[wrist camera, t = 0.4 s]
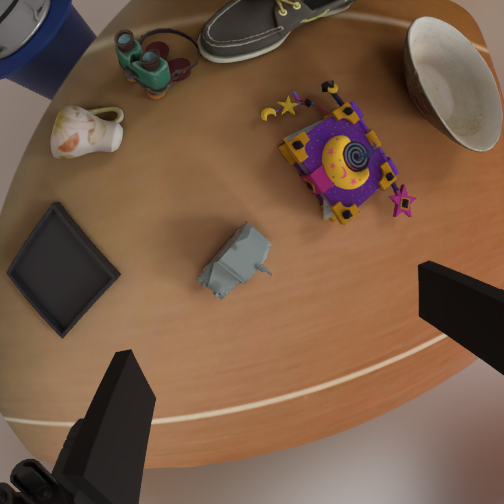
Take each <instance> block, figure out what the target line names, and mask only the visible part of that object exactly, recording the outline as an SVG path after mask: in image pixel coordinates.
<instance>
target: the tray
mask: <svg viewBox="0 0 504 504" xmlns="http://www.w3.org/2000/svg"><path fill="white" fill-rule="evenodd" d="M6 273H7V275H8V276H9V277H10V279H11V280H12V281H13V283H14V284H15V285H16V286H17V288H18V289H19V290H20V292H21V293H22V294H23V295H24V296H25V298H26V299H27V300H28V301H29V303H30V304H31V305H32V306H33V307H34V308H35V310H36V311H37V312H38V313H39V314H40V315H41V316H42V318H43V319H44V320H45V321H46V322H47V323H48V324H49V325H50V326H51V327H52V328H53V329H54V331H55V332H56V333H57V334H58V335H59V336H60V337H61V338H62V339H63V338H64V337H65V335H66V334H67V333H68V332H69V331H70V330H71V329H72V327H73V326H74V325H75V324H76V323H77V322H78V321H79V319H80V318H81V317H82V316H83V315H84V314H85V313H86V312H87V311H88V309H89V308H90V307H91V306H92V305H93V304H94V303H95V302H96V301H97V300H98V299H99V298H100V296H101V295H102V294H103V293H104V292H105V291H106V290H107V289H108V288H109V287H110V286H111V285H112V284H113V283H114V282H115V281H116V280H117V279H118V277H119V276H120V275H121V274H120V273H119V272H118V270H117V269H116V268H115V267H114V266H113V265H112V264H111V263H110V262H109V261H108V260H107V258H106V257H105V256H104V255H103V254H102V253H101V252H100V251H99V249H98V248H97V247H96V246H95V245H94V244H93V243H92V241H91V240H90V239H89V238H88V237H87V236H86V234H85V233H84V232H83V231H82V230H81V228H80V227H79V226H78V225H77V224H76V222H75V221H74V220H73V219H72V217H71V216H70V215H69V214H68V212H67V211H66V210H65V209H64V207H63V206H62V205H61V204H60V202H57V203H53V204H52V205H51V207H50V208H49V209H48V210H47V212H46V213H45V215H44V216H43V217H42V219H41V220H40V221H39V223H38V224H37V226H36V227H35V228H34V230H33V231H32V233H31V234H30V236H29V237H28V239H27V240H26V242H25V243H24V245H23V246H22V248H21V249H20V251H19V252H18V254H17V256H16V257H15V259H14V261H13V262H12V264H11V266H10V267H9V269H8V271H7V272H6Z"/></svg>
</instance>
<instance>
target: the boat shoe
mask: <svg viewBox="0 0 504 504" xmlns="http://www.w3.org/2000/svg"><path fill="white" fill-rule="evenodd" d="M354 1H356V0H231V1H230V2H228V3H227V4H226V5H224V6H223V7H222V8H221V9H220V10H218V11H217V12H216V13H215V14H214V15H213V16H212V17H211V18H210V19H209V20H208V21H207V23H206V24H205V25H204V27H203V28H202V30H201V34H200V35H199V38H198V41H197V43H198V44H199V50H200V53H201V54H202V55H203V57H205V58H206V59H208V60H210V61H212V62H217V63H228V62H236V61H241V60H246V59H249V58H253V57H256V56H259V55H262V54H264V53H267V52H269V51H271V50H273V49H275V48H277V47H278V46H279V45H280V44H282V43H283V41H284V40H285V39H286V38H287V36H288V35H289V33H290V32H291V31H292V30H293V29H295V28H297V27H299V26H301V25H303V24H305V23H307V22H309V21H312V20H314V19H317V18H319V17H325V16H330V15H334V14H337V13H341V12H343V11H345V10H347V9H348V8H349V7H350V5H351V4H352V3H353V2H354Z"/></svg>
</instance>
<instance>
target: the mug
mask: <svg viewBox="0 0 504 504" xmlns="http://www.w3.org/2000/svg"><path fill="white" fill-rule="evenodd" d="M110 111H112V112H116V113H117V115H118V116H117V118H116V119H114V120H112V121H106V120H102V119H100V118H98V117H97V116H95V115H96V114H99V113H103V112H110ZM123 118H124V113H123V111H122V110H121V109H120V108H118V107H115V106H112V107H104V108H98V109H92V110H85V109H83V108H81V107H78V106H64V107H62V108H61V109H60V111H59V113H58V115H57V117H56V119H55V122H54V126H53V130H52V135H51V141H50V149H51V152H52V155H53V156H54V157H55V158H59V159H70V158H74V157H78V156H81V155H84V154H87V153H91V152H97V151H102V152H113V151H115V150H117V149H118V148H119V146H120V144H121V141H122V136H123V129H122V127H121V126H120V124H119V123H120V122H121V121H122V120H123Z"/></svg>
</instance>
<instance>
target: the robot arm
mask: <svg viewBox="0 0 504 504" xmlns="http://www.w3.org/2000/svg"><path fill="white" fill-rule="evenodd" d="M51 6H52V1H51V0H0V60H2V59H6V58H8V57H10V56H12V55H14V54H16V53H17V52H18V51H20V50H21V49H22V48H23V47H25V46H26V45H27V44H28V43H29V42H30V41H31V40H32V39H33V38H34V36H35V35H36V34H37V33H38V32H39V30H40V29H41V28H42V26H43V25H44V23H45V21H46V19H47V18H48V15H49V13H50V10H51ZM418 279H419V317H421V318H422V319H424V320H425V321H427V322H428V323H430V324H431V325H432V326H434V327H435V328H437V329H438V330H440V331H441V332H443V333H444V334H446V335H447V336H449V337H450V338H452V339H453V340H455V341H456V342H457V343H459V344H460V345H462V346H463V347H465V348H466V349H468V350H469V351H470V352H472V353H473V354H475V355H476V356H478V357H479V358H480V359H482V360H483V361H485V362H486V363H487V364H489V365H490V366H492V367H493V368H494V369H496V370H497V371H498V372H500V373H501V374H503V375H504V290H503V289H498V288H496V287H494V286H491V285H489V284H487V283H484V282H482V281H479V280H477V279H475V278H472V277H470V276H467V275H465V274H462V273H460V272H457V271H455V270H452V269H450V268H447V267H445V266H442V265H440V264H437V263H435V262H432V261H427V262H424V263H422V264H419V265H418ZM155 401H156V397H155V395H154V393H153V391H152V390H151V388H150V386H149V384H148V382H147V380H146V378H145V376H144V374H143V372H142V370H141V368H140V366H139V364H138V362H137V360H136V358H135V356H134V354H133V352H132V350H131V349H130V350H125V351H120V352H116V353H115V355H114V357H113V359H112V361H111V363H110V365H109V367H108V369H107V371H106V373H105V375H104V377H103V379H102V381H101V383H100V385H99V387H98V389H97V391H96V394H95V396H94V398H93V400H92V402H91V404H90V407H89V409H88V411H87V413H86V415H85V418H84V419H79V420H78V421H77V422H76V423H75V424H74V425H73V426H72V428H71V429H70V431H69V434H68V436H67V440H65V443H64V445H63V448H62V449H61V452H60V454H59V456H58V459H57V461H56V464H55V466H54V468H53V471H52V473H51V474H50V473H49V472H48V471H47V470H46V469H45V468H44V466H43V465H42V464H41V463H39V461H36V460H35V459H26V460H23V461H21V462H20V463H18V464H17V465H16V466H15V468H14V469H13V470H12V473H11V475H10V482H11V483H12V484H13V485H14V486H15V487H17V488H18V489H19V490H20V491H21V492H16V491H15V490H14V489H13V488H12V487H11V486H10V485H8V484H6V483H0V504H139V495H140V488H141V481H142V475H143V468H144V462H145V456H146V450H147V444H148V438H149V433H150V427H151V422H152V417H153V411H154V406H155Z"/></svg>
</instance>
